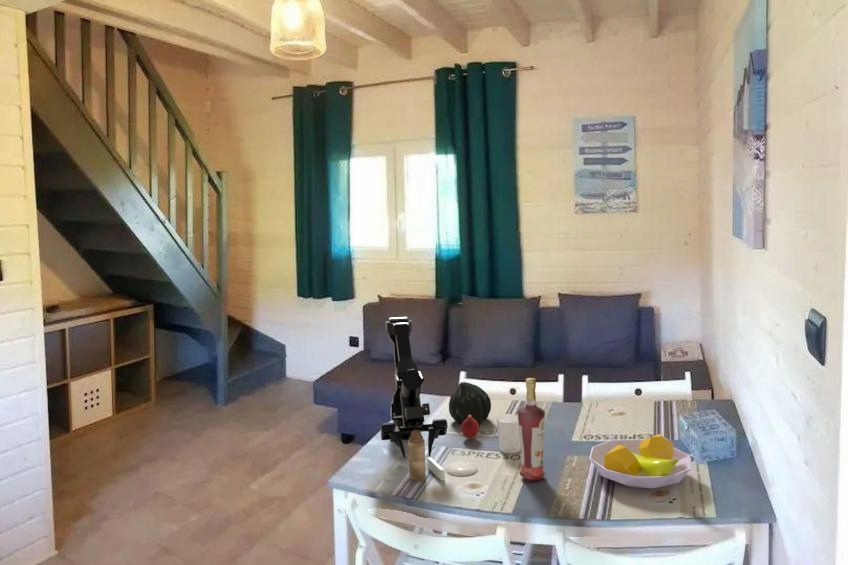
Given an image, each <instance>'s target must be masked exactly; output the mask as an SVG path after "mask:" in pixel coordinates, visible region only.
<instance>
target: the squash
mask: <svg viewBox="0 0 848 565" xmlns="http://www.w3.org/2000/svg"><path fill="white" fill-rule="evenodd" d="M491 410H492V401H491V399H490V395H489V394H488V393H487V392H486V391H485V390H484V389H483V388H481V387H480V386H478V385H476V384H473V383H470V382H466V381H461V382H460V383H459V384H458V386H457V387H456V388H455V390H454V391H453V392H452V393H451V395H450V397H449V403H448V413H449V414H450V417H451V418H452V419H453V421H455V422H456V423H458V424H462V423H463V421H464V420H465V419H467V418H468V416H469V415H471V416H472V418H473V419H475V420H476V421H477V423H478V425H479V424H480V423H481V422H482V421H486V420H488V418H489V414H490V413H491Z"/></svg>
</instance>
